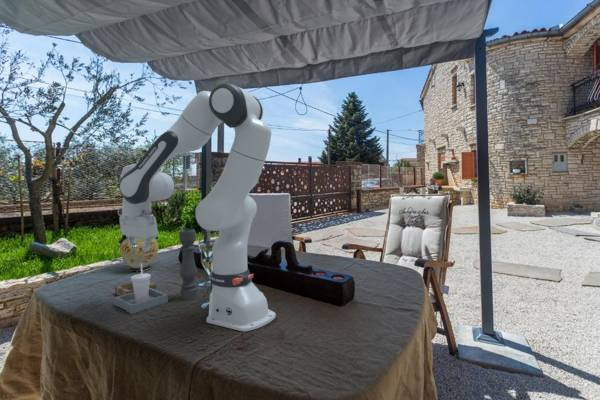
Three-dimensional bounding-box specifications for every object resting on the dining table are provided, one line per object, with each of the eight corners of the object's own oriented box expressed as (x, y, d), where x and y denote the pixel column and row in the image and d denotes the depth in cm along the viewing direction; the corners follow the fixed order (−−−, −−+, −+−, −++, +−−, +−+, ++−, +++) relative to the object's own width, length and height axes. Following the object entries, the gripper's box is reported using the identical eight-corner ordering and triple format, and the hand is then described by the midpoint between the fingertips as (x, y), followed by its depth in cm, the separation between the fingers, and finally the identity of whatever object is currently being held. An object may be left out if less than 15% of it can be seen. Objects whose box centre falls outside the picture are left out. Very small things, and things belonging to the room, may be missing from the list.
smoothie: (155, 299, 116) (154, 261, 115) (145, 306, 110) (143, 266, 109) (139, 299, 117) (137, 261, 116) (127, 306, 110) (125, 266, 110)
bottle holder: (156, 291, 126) (156, 284, 126) (127, 300, 118) (127, 292, 117) (143, 286, 133) (142, 279, 133) (115, 294, 124) (114, 286, 124)
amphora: (154, 263, 170) (152, 207, 168) (164, 269, 157) (161, 209, 156) (116, 269, 159) (113, 209, 157) (124, 277, 146) (121, 211, 144)
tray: (167, 302, 115) (167, 294, 115) (131, 314, 105) (131, 305, 105) (150, 294, 123) (150, 287, 123) (115, 305, 113) (114, 297, 113)
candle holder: (177, 298, 119) (174, 231, 117) (189, 293, 124) (187, 229, 123) (189, 301, 116) (186, 232, 114) (201, 295, 121) (199, 230, 120)
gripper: (161, 210, 108) (163, 250, 109) (133, 208, 121) (135, 245, 121) (142, 212, 103) (145, 254, 104) (115, 210, 116) (117, 248, 117)
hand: (139, 249), depth 113 cm, fingers open, 8 cm apart
